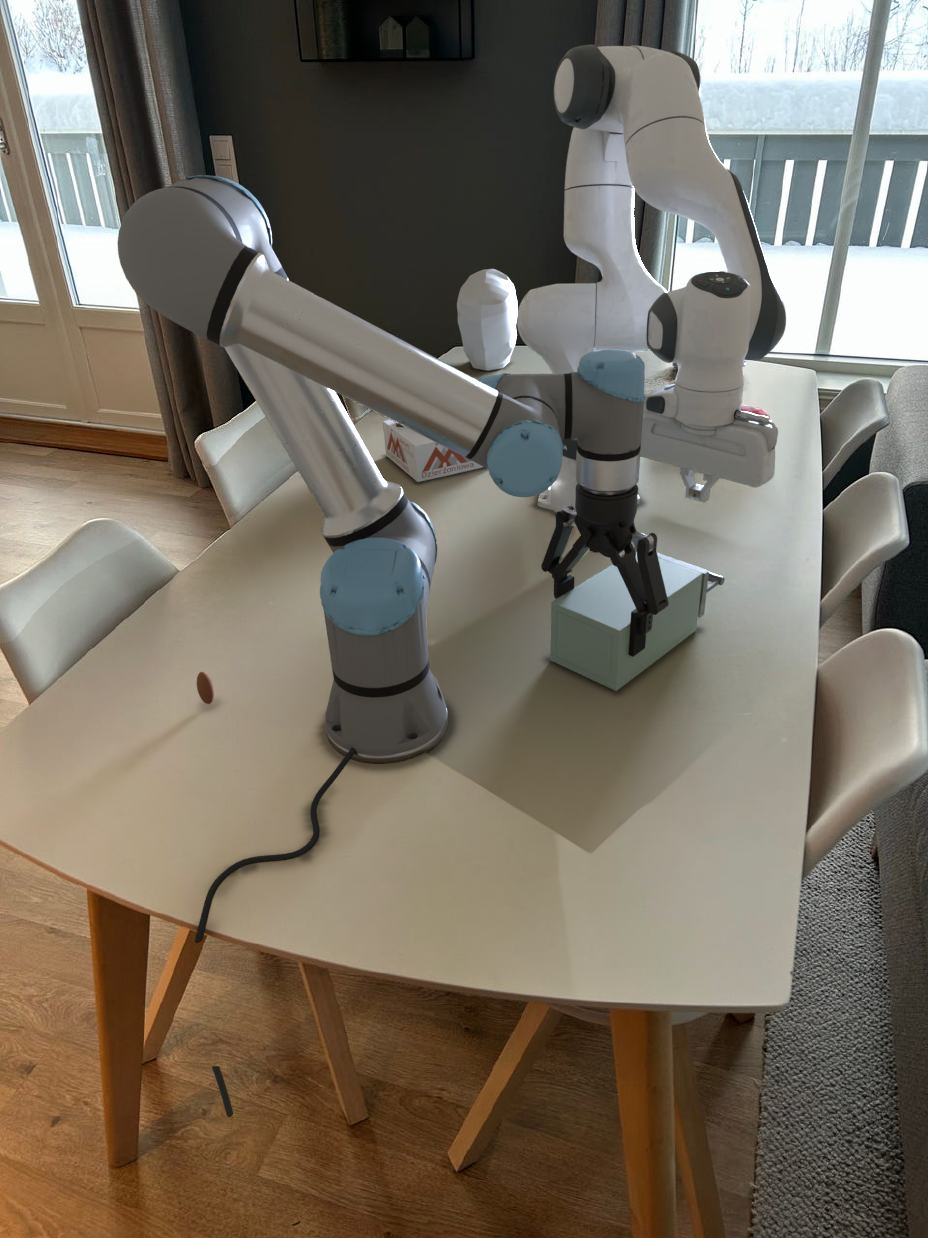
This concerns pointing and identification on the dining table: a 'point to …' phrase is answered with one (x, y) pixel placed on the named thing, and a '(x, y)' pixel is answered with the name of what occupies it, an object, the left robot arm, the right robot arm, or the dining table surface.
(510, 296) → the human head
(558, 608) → the cabinet
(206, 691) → the brown oval piece
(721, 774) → the dining table surface
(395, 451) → the white red logo box
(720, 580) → the drawer
